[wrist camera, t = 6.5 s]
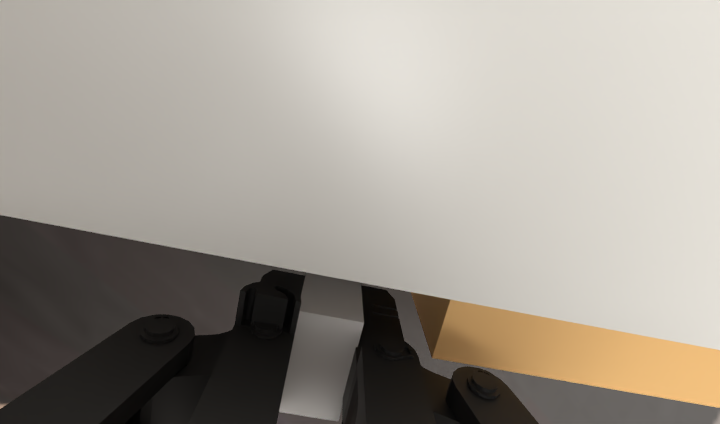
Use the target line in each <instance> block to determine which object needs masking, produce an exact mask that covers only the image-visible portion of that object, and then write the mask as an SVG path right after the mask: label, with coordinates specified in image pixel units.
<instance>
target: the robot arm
mask: <svg viewBox="0 0 720 424" xmlns="http://www.w3.org/2000/svg"><path fill="white" fill-rule="evenodd" d="M396 310H397V308H396V304H395V300H394V298H393V297H392V296H391V295H390V294H389V293H388V292H387V291H386V290H382V289H377V288H372V287H367V286H362V285H361V283H360V282H355V281H349V280H344V279H339V278H333V277H328V276H323V275H318V274H312V273H307V272H306V275H305V276H303V275H298V274H293V273H287V272H282V271H277V270H272V271H270V272H268V273H267V274H265V275H263V277H262V279H261V281H260V282H256V283H252V284H249V285H246V286H245V287H244V288H243V289H242V290H241V291H240V296H239V302H238V308H237V314H236V321H235V325H234V327H233V329H232V330H231V331H228V332H225V333H221V334H216V335H198V336H195V333H194V327H193V326H192V325H191V323H190V322H189V321H187V320H185V319H183V318H181V317H177V316H172V315H164V314H163V315H161V314H160V315H151V316H147V317H142V318H140V319H137V320H135V321H133V322H131V323H129V324H128V325H126V326H125V327H123V328H122V329H120V330H119V331H117V332H116V333H114V334H113V335H111V336H110V337H108V338H107V339H105V340H104V341H102V342H101V343H99V344H98V345H96V346H95V347H93V348H92V349H90V350H89V351H87V352H86V353H84V354H83V355H81V356H80V357H78V358H77V359H75V360H74V361H72V362H71V363H69V364H68V365H66V366H65V367H63V368H62V369H60V370H59V371H57V372H55V373H54V374H52V375H51V376H49V377H48V378H46V379H45V380H43V381H42V382H40V383H39V384H37V385H36V386H34V387H33V388H31V389H30V390H28V391H27V392H25V393H24V394H22V395H21V396H19V397H18V398H16V399H15V400H13V401H12V402H10V403H9V404H7V405H6V406H4V407H3V408H1V409H0V424H276V423H277V418H278V413H279V412H283V413H289V414H295V415H301V416H308V417H314V418H320V419H326V420H333V421H339V417H340V414H341V410H342V424H539V423H538V422H537V421H536V420H535V419H534V417H533V416H532V415H531V414H530V412H529V411H528V410H527V409H526V408H525V406H524V405H523V404H522V403H521V402H520V400H519V399H518V398H517V397H516V396H515V394H514V393H513V392H512V391H511V390H510V388H509V387H508V386H507V385H506V384H505V383H504V382H503V381H501V380H500V379H499V378H498V377H496V376H494V375H493V374H491V373H490V372H488V371H486V370H483V369H480V368H474V367H468V366H467V367H461V368H458V369H457V370H456V371H454V372H453V375H452V378H451V379H448V378H446V377H443V376H440V375H438V374H435V373H433V372H431V371H429V370H427V369H425V368H423V367H422V366H421V365H420V361H419V357H418V355H417V353H416V351H415V350H414V349H413V348H412V347H411V346H410V345H409V344H408V343H406V342H404V338H403V334H402V330H401V325H400V321H399V319H398V312H397V311H396ZM342 406H343V409H342Z"/></svg>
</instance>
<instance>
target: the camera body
mask: <svg viewBox="0 0 720 424" xmlns="http://www.w3.org/2000/svg"><path fill="white" fill-rule="evenodd" d="M0 215H3V216H9V217H14V218H19V219H25V220H30V221H35V222H41V223H46V224H51V225H57V226H62V227H67V228H73V229H78V230H83V231H89V232H94V233H99V234H105V235H110V236H115V237H121V238H126V239H131V240H136V241H142V242H147V243H152V244H158V245H163V246H168V247H174V248H179V249H184V250H190V251H195V252H200V253H206V254H211V255H216V256H222V257H227V258H232V259H238V260H243V261H248V262H254V263H259V264H264V265H270V266H275V267H280V268H286V269H291V270H296V271H302V272H307V273H312V274H318V275H323V276H328V277H333V278H339V279H344V280H349V281H355V282H360V283H365V284H371V285H376V286H381V287H387V288H392V289H397V290H403V291H408V292H413V293H419V294H424V295H429V296H435V297H440V298H445V299H451V300H456V301H461V302H467V303H472V304H477V305H483V306H488V307H493V308H499V309H504V310H509V311H515V312H520V313H525V314H530V315H536V316H541V317H546V318H552V319H557V320H562V321H568V322H573V323H578V324H584V325H589V326H594V327H600V328H605V329H610V330H616V331H621V332H626V333H632V334H637V335H642V336H648V337H653V338H658V339H664V340H669V341H674V342H680V343H685V344H690V345H696V346H701V347H706V348H712V349H717V350H720V0H0Z"/></svg>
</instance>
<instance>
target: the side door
mask: <svg viewBox="0 0 720 424" xmlns="http://www.w3.org/2000/svg"><path fill="white" fill-rule="evenodd" d="M411 294H412V297H413V300H414V303H415V306H416V309H417V312H418V316H419V319H420V322H421V325H422V328H423V331H424V334H425V337H426V340H427V343H428V347H429V350H430V353H431V356H432V358H435V359H441V360H447V361H453V362H458V363H464V364H470V365H476V366H482V367H487V368H493V369H499V370H505V371H510V372H516V373H522V374H528V375H533V376H539V377H545V378H551V379H557V380H562V381H568V382H574V383H580V384H585V385H591V386H597V387H603V388H609V389H614V390H620V391H626V392H632V393H637V394H643V395H649V396H655V397H661V398H666V399H672V400H678V401H684V402H689V403H695V404H701V405H707V406H713V407H718V408H719V407H720V350H717V349H712V348H706V347H701V346H696V345H690V344H685V343H680V342H674V341H669V340H664V339H658V338H653V337H648V336H642V335H637V334H632V333H626V332H621V331H616V330H610V329H605V328H600V327H594V326H589V325H584V324H578V323H573V322H568V321H562V320H557V319H552V318H546V317H541V316H536V315H530V314H525V313H520V312H515V311H509V310H504V309H499V308H493V307H488V306H483V305H477V304H472V303H467V302H461V301H456V300H451V299H445V298H440V297H435V296H429V295H424V294H419V293H413V292H411Z"/></svg>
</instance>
